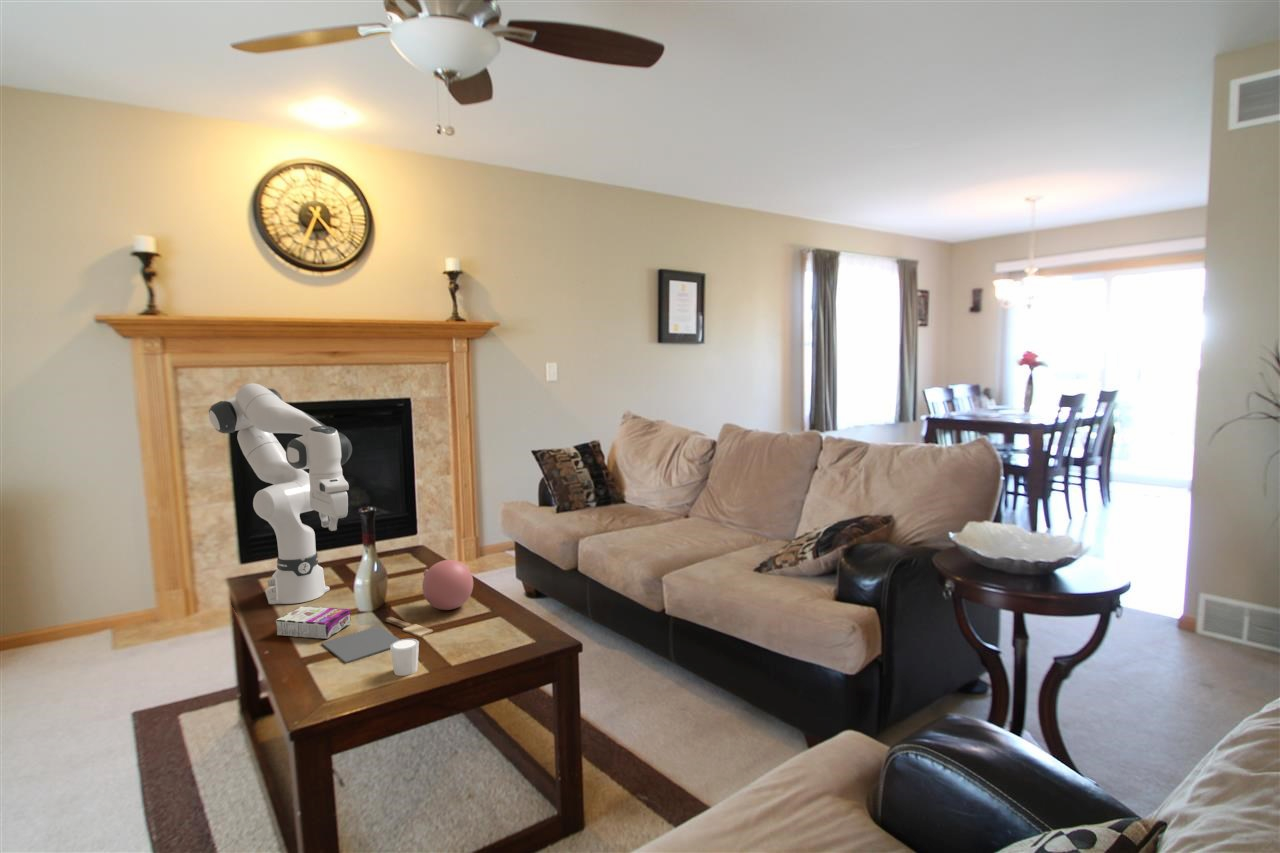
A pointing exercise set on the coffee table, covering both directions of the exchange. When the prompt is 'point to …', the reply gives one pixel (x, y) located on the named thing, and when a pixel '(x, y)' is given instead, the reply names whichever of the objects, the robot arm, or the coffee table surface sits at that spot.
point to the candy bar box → (313, 622)
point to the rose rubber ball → (447, 584)
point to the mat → (361, 644)
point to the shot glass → (405, 656)
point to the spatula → (410, 627)
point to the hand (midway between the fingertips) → (329, 528)
